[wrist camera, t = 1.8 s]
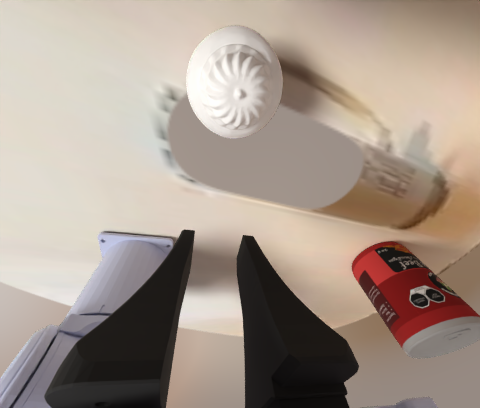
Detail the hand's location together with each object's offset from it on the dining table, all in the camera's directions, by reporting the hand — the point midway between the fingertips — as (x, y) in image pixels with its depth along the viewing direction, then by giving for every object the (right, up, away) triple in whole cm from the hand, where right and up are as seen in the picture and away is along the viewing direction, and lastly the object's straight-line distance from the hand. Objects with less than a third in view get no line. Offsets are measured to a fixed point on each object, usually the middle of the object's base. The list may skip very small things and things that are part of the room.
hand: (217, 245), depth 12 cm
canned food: (+22, -6, +18) cm, 28 cm away
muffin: (+1, +12, +4) cm, 12 cm away
